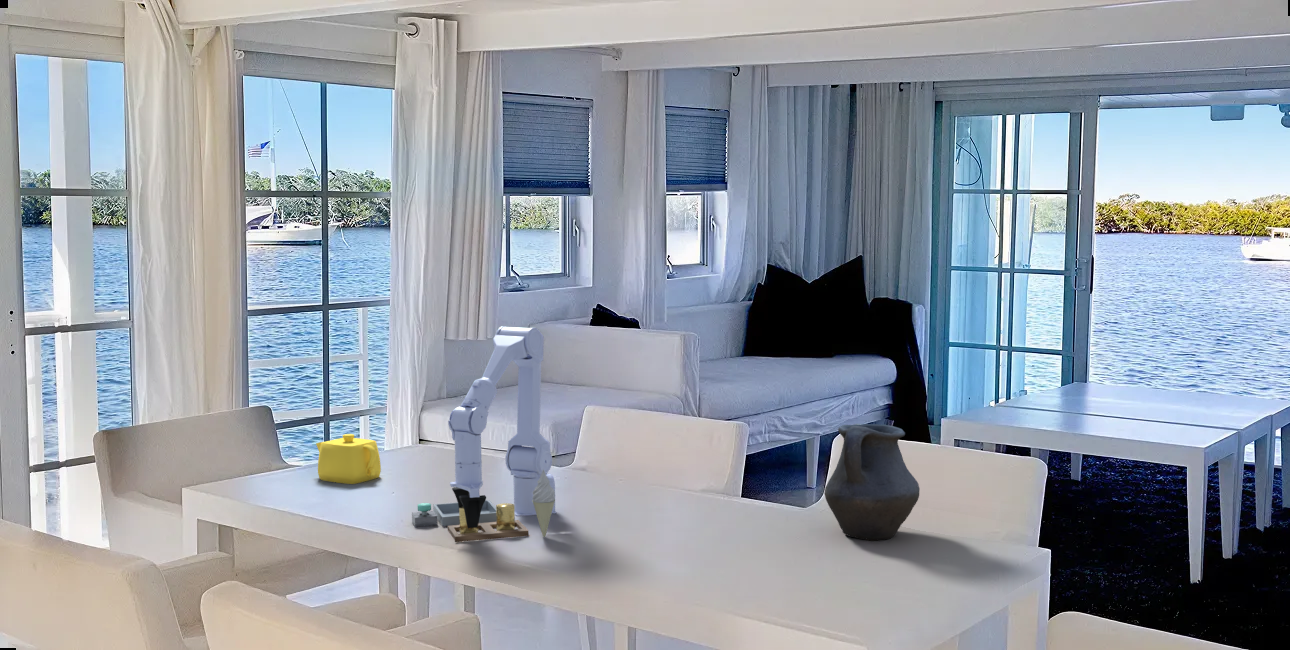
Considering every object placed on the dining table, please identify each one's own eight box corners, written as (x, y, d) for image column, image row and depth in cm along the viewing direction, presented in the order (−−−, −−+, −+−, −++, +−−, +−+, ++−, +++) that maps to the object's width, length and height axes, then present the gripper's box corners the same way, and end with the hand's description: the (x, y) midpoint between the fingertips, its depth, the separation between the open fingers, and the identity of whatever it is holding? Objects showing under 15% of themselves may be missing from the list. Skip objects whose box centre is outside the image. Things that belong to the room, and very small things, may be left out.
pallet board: (518, 525, 291) (518, 519, 291) (528, 535, 282) (528, 530, 281) (447, 531, 286) (447, 525, 286) (455, 542, 277) (455, 536, 276)
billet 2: (512, 529, 288) (512, 502, 287) (516, 533, 284) (516, 506, 283) (494, 530, 286) (494, 504, 286) (498, 535, 283) (498, 508, 282)
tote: (489, 509, 306) (489, 500, 305) (500, 522, 293) (500, 512, 293) (433, 514, 302) (433, 504, 301) (442, 527, 289) (442, 517, 289)
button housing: (434, 521, 295) (434, 510, 294) (437, 526, 290) (437, 515, 290) (412, 523, 293) (411, 512, 293) (415, 528, 288) (414, 517, 288)
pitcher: (932, 530, 284) (933, 418, 282) (898, 553, 266) (900, 433, 263) (844, 519, 295) (845, 410, 292) (805, 541, 276) (806, 425, 274)
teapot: (302, 478, 343) (301, 434, 341) (335, 470, 353) (334, 427, 352) (358, 486, 332) (357, 441, 331) (391, 477, 343) (390, 433, 342)
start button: (430, 518, 293) (430, 502, 293) (432, 521, 290) (432, 505, 290) (417, 519, 292) (416, 503, 292) (418, 522, 290) (418, 506, 289)
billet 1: (475, 532, 285) (475, 505, 285) (480, 536, 281) (479, 509, 281) (457, 534, 284) (457, 507, 283) (462, 538, 280) (461, 511, 279)
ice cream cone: (534, 540, 277) (533, 471, 276) (530, 535, 282) (529, 467, 281) (557, 539, 279) (557, 470, 277) (553, 533, 284) (552, 465, 282)
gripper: (444, 456, 287) (445, 517, 288) (455, 469, 273) (456, 532, 274) (476, 454, 289) (477, 514, 290) (488, 467, 275) (489, 529, 276)
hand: (469, 523), depth 282 cm, fingers open, 7 cm apart
